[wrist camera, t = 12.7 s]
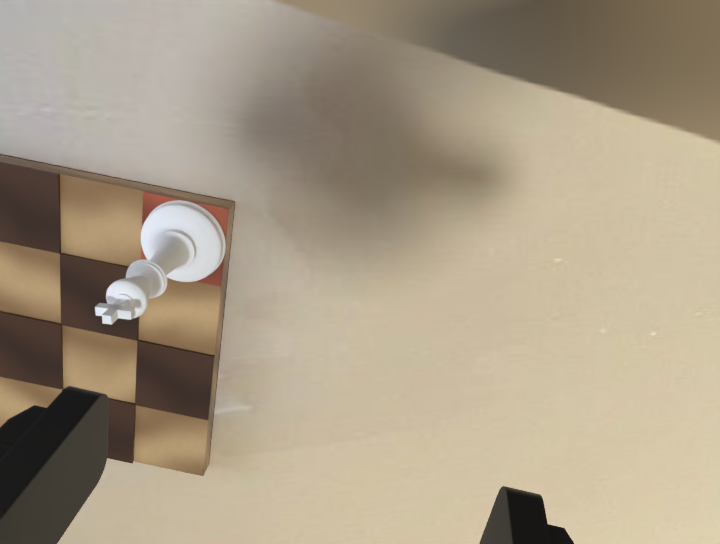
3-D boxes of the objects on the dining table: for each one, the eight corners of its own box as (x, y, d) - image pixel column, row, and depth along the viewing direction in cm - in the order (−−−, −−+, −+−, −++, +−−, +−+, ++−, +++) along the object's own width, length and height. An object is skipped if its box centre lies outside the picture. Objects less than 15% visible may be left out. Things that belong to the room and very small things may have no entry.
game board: (-92, 135, 39) (-110, 140, 38) (235, 201, 39) (228, 209, 37) (-62, 407, 47) (-76, 419, 46) (208, 464, 47) (202, 478, 46)
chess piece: (141, 195, 38) (47, 263, 28) (225, 204, 37) (158, 276, 28) (146, 273, 40) (59, 360, 30) (225, 283, 39) (163, 373, 30)
